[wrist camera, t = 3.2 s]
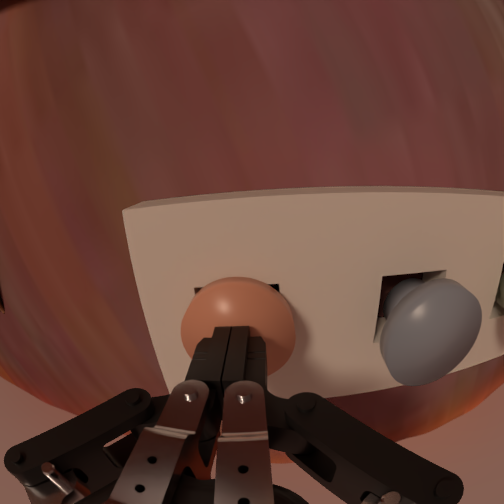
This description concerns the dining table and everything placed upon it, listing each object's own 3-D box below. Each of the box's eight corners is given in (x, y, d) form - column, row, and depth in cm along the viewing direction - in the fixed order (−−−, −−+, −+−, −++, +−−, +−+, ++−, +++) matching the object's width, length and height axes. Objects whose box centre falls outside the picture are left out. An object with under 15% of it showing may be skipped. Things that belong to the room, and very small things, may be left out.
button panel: (538, 195, 13) (559, 202, 10) (509, 330, 16) (524, 345, 14) (142, 201, 15) (122, 210, 12) (180, 374, 18) (171, 399, 16)
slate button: (415, 237, 13) (457, 264, 9) (457, 295, 13) (492, 328, 10) (344, 310, 14) (365, 356, 10) (396, 355, 15) (418, 398, 11)
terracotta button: (237, 237, 15) (227, 263, 11) (309, 297, 16) (319, 335, 12) (180, 302, 16) (160, 339, 13) (248, 351, 17) (244, 395, 14)
